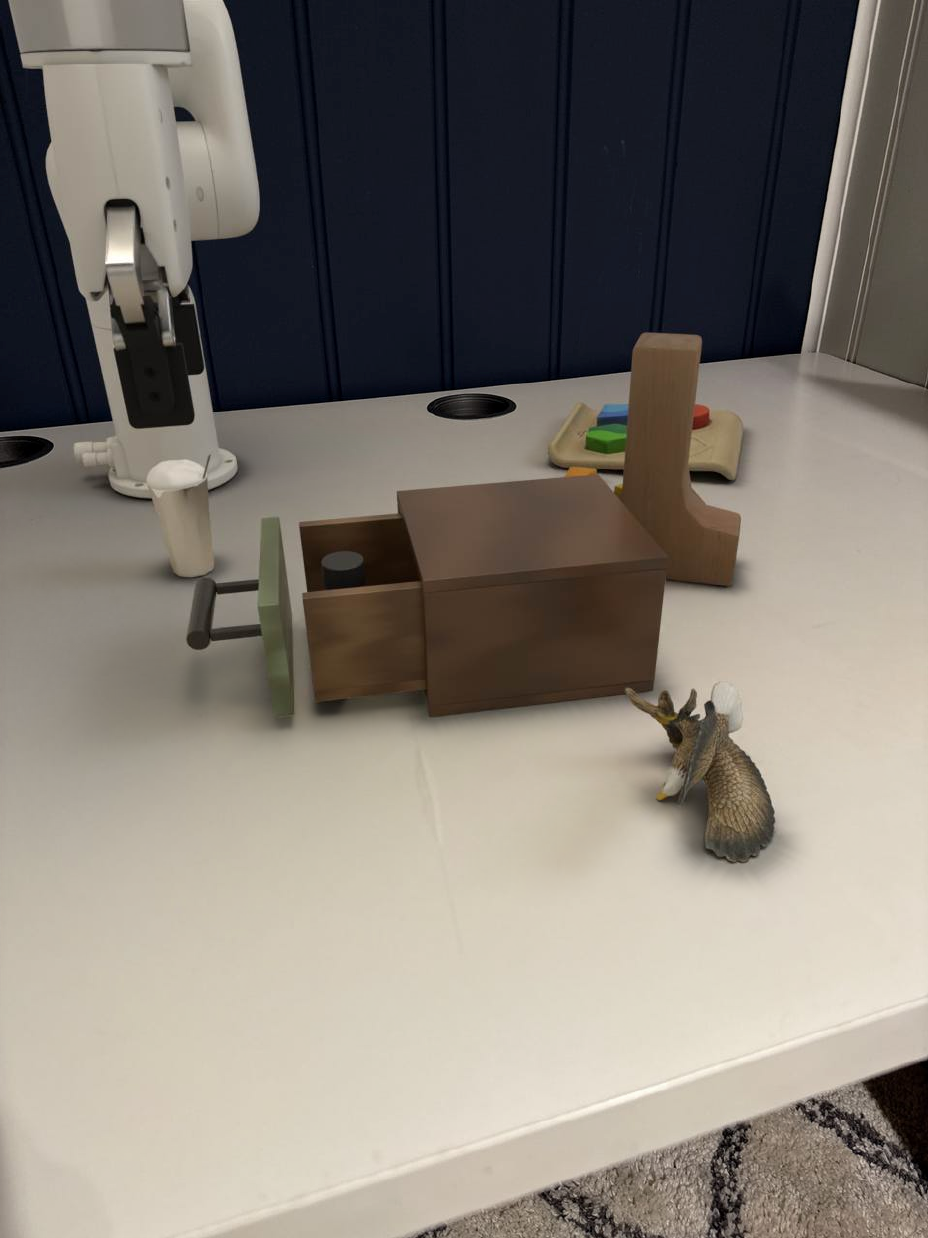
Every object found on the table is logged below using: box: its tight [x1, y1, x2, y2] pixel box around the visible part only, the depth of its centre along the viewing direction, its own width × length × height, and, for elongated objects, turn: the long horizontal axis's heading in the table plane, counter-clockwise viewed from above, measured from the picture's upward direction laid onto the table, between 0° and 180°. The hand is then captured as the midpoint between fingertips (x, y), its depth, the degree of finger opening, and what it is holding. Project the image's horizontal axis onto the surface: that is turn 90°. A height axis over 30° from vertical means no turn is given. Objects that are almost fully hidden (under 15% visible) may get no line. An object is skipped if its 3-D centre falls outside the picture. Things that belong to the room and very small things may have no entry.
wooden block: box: [621, 332, 742, 587], centre depth 68 cm, size 9×4×18 cm, turn 73°
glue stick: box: [321, 551, 365, 590], centre depth 58 cm, size 3×3×6 cm
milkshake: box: [146, 454, 215, 579], centre depth 71 cm, size 4×5×10 cm
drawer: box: [185, 512, 427, 718], centre depth 58 cm, size 18×12×8 cm
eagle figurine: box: [624, 681, 776, 863], centre depth 47 cm, size 8×7×9 cm
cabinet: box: [396, 473, 668, 718], centre depth 60 cm, size 15×14×10 cm
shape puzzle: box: [547, 401, 744, 500], centre depth 93 cm, size 25×19×3 cm
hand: (171, 397), depth 50 cm, fingers open, 9 cm apart
